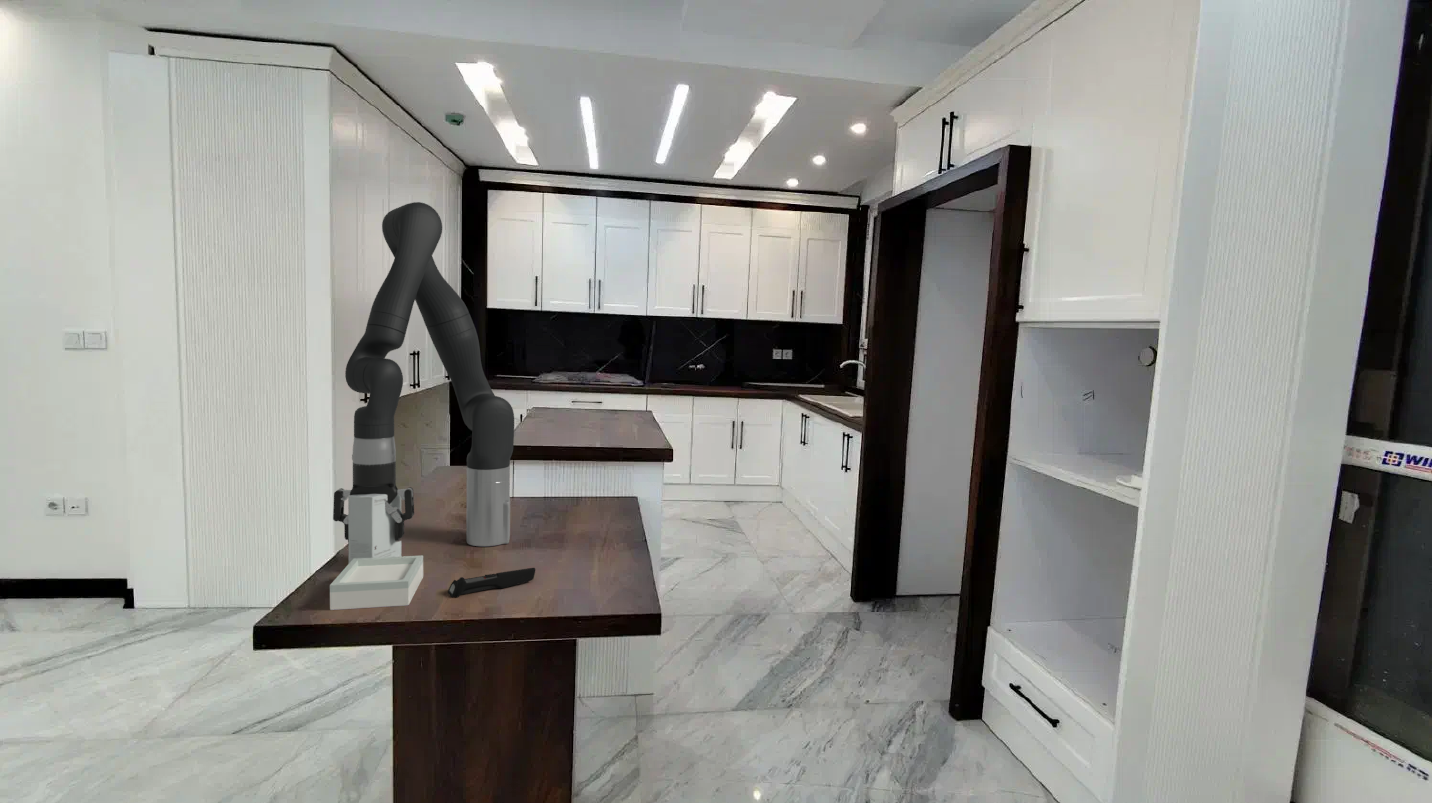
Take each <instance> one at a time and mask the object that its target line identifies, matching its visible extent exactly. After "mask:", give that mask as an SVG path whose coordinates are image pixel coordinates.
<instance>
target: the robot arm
mask: <svg viewBox="0 0 1432 803" xmlns="http://www.w3.org/2000/svg"><path fill="white" fill-rule="evenodd" d="M381 231H382V234H383V237H384V240H385V242H386V245H387V246H388V249H389V250H390V252H391V254H392V255H393V257H394V260H393V262H392V265H391V267H390V269H389V271H388V273H387V275H386V277H385V279H384V280H383V282H382V283H381V286H380V287H379V290H378V291H377V293H376V295H375V298H374V300H373V303H372V306H371V308H370V313H369V315H368V319H367V323H366V326H365V331H364V334H363V336H362V337H361V338H360V340H359V341H358V343H357V345H356V346H355V348H354V350H353V352H352V353H351V355H350V357H349V359H348V360H347V363H346V365H345V366H346V367H345V371H344V372H345V374H344V375H345V382H346V384H347V386H348V387H349V389H351V390H352V391H354V392H356V393H359V394H369V397H368V401H367V403H366V405H365V406H361V407H358V408H356V410H355V412H354V415H353V443H352V454H351V460H352V487H351V489H344V488H339V489H337V490H336V491H334V493H333V511H332V512H333V513H332V514H333V515H332V520H333V521H334V522H341V523H343V526H344V539H345V540H347V543H348V544H349V531H348V530H349V528H348V514H347V513H346V514H345V501H347V500H348V496H350V495H358V494H386V495H387V497H388V501H387V500H385V499H384V501H385V504H386V506H385V510H386V511H387V512H388V514H389V515H391V516H392V517H393V518H394V520H395V521H396V522H395V541H399V540H400V539H401V540H402V539H403V537H404V535H405V521H407V520H410V519H412V518H413V517H414V515H415V502H414V501H415V500H414V496H415V494H414V488H413V487H411V486H410V487H407V488H400V489H399V488H398V487H397V483H396V480H397V475H396V474H397V472H396V470H397V467H396V464H397V463H396V462H397V461H396V459H397V458H396V456H397V451H396V440H395V415H396V411H397V408H398V405H399V401H400V397H401V394H402V390H403V386H404V385H403V384H404V376H403V372H402V369H401V366H400V365H399V364H398V363H397V362H396V361H395V360H393V359H390V358H386V356H387V355H388V354H389V353H390V352H392V351H395V350H398V349H400V348H402V346H403V344H404V342H405V337H406V335H407V330H408V326H409V323H410V318H411V316H412V315H411V314H412V311H413V307H414V305H415V303H416V305H417V307H418V310H419V312H420V315H421V317H422V319H423V323H424V325H425V327H426V330H427V332H428V334H429V337H430V340H431V341H432V344H433V346H434V348H435V351H436V352H437V354H438V357H439V359H440V361H441V363H442V365H443V367H444V369H445V371H446V373H447V375H448V377H449V379H450V382H451V384H452V387H453V390H454V392H455V396H456V399H457V404H458V407H459V410H460V413H461V416H462V420H463V422H464V425H465V426H467V428H468V429H469V430H470V431H471V432H472V433H471V448H470V451H469V452H468V453H467V456H466V520H465V521H466V525H465V526H466V531H465V532H466V544H468V545H470V546H474V547H475V546H476V547H494V546H500V545H505V544H509V543H510V538H511V495H510V494H511V493H510V490H511V489H510V488H511V486H510V485H511V484H510V483H511V482H510V481H511V457H512V455H513V451H514V443H515V442H514V441H515V438H514V437H515V413H514V409H513V407H512V405H511V404H510V402H509V401H508V400H506V399H505V398H503V397H501V396H497V395H496V394H494V392H493V390H492V388H491V386H490V384H489V382H488V379H487V377H486V375H485V372H484V370H483V366H482V361H481V360H482V358H481V350H480V349H481V348H480V342H479V337H478V333H477V329H476V327H475V324H474V322H473V319H472V317H471V314H470V312H469V309H468V307H467V306H466V304H465V302H464V301H463V299H462V298H461V297H460V295H459V294H458V292H456V290H454V288H453V287H452V286H451V285H450V284H449V283H448V282H447V281H446V279H445V278H444V277H443V275H442V274H441V272H440V270H439V269H438V267H437V264H436V262H435V259H434V257H433V254H434V253H435V250H436V249H437V246H438V244H439V242H440V239H441V238H442V233H443V223H442V218H441V217H440V215H439V213H438V211H437V210H436V209H435V208H433V207H432V206H431V205H430V204H427V203H425V202H421V201H413V202H409V203H405V204H403V205H401V206H398V207H396V208H394V209H391V210H390V211H388V212H387V213H386V214H385V215H384V217H383V219H382V222H381ZM397 495H400V496H401V501H404V511H405V512H402V510H401V511H400V509H399V507H397V506H395V507H392V506H391V505H390V504H391V502H392V501H393V500H394V499H395V498H396V496H397Z"/></svg>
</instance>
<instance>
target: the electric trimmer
mask: <svg viewBox="0 0 1432 803" xmlns="http://www.w3.org/2000/svg"><path fill="white" fill-rule="evenodd" d="M535 574H536V568H535V567H529V568H521V569H515V570H508V571H501V572H496V573H490V574H484V575H481V576H476V577H469V578H468V577H467V578H464V577H463V576H461V577H459V578H458V579H457V580H456V579H454V580H453V581H452V582H451V584H450V585H449V587H448V590H447V594H448V595H449V597H450V598H451V599H452V598H459V597H460V596H462V595H466V594H467V595H468V594H472V593H477V592H481V591H486V590H491V589H505V588H509V587H510V588H511V587H513V586H516V585H517V586H518V585H520V584H524V583H527V582H530V581H531V582H532V581H533V580H534V578H535Z"/></svg>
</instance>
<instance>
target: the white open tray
mask: <svg viewBox="0 0 1432 803" xmlns="http://www.w3.org/2000/svg"><path fill="white" fill-rule="evenodd" d="M423 578H424V555H422V554H421V555H405V556H404V555H403V556H402V555H401V556H399V557H376V558H354V559H353V560H352V561H351V562H350V563H349V562H348V564H347V565H346V566H345V568H344V569H343V570H342V571H341V572H340V573H339V574H338V575H337V577H336V578H334V580H333V581H332V582H331V583H330V584H329V610H330V611H333V610H334V611H335V610H337V611H338V610H350V609H351V610H352V609H354V610H356V609H368V608H385V607H388V608H389V607H403V606H409V605H410V603H411V602H412V599H413V598H414V595H415V593H416V592H417V590H418V588H419V586H420V584H421V582H422V580H423Z"/></svg>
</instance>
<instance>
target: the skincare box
mask: <svg viewBox="0 0 1432 803" xmlns="http://www.w3.org/2000/svg"><path fill="white" fill-rule="evenodd" d="M384 499H385V500H387V501H388V497H387V495H386V494H358V495H350V496H348V498H347V500H348V501H347V502H348V506H347V507H348V513H347V515H348V528H349V530H348V531H349V543H348V564H349V563H350V562H351V561H352V560H353V559H354V558H376V557H399V556H402V538H401V539H400V540H399V541H395V522H396V521H395V520H394V518H393V517H392V516H391V515H389V514H388V512H387V511H386V510H385V506H386V504H385V501H384ZM390 505H391V506H392V507H395V506H397V507H399V509H400V511H401V512H402V499H401V496H400V495H397V496H396V498H395V499H394V500H393V501H392V502H391V504H390Z"/></svg>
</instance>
